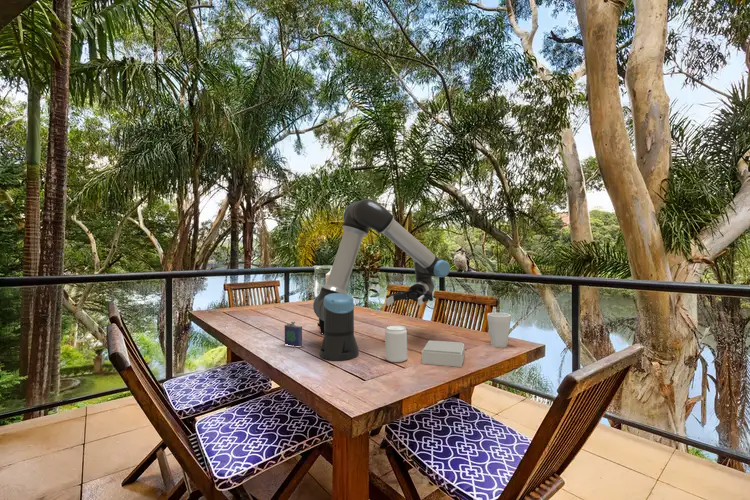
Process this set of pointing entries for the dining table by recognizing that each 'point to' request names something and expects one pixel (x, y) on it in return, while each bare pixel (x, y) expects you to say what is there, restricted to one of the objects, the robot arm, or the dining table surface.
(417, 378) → the dining table surface
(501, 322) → the foam cup
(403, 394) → the dining table surface
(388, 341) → the beverage can
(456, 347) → the pedestal
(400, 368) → the dining table surface
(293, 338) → the flask
